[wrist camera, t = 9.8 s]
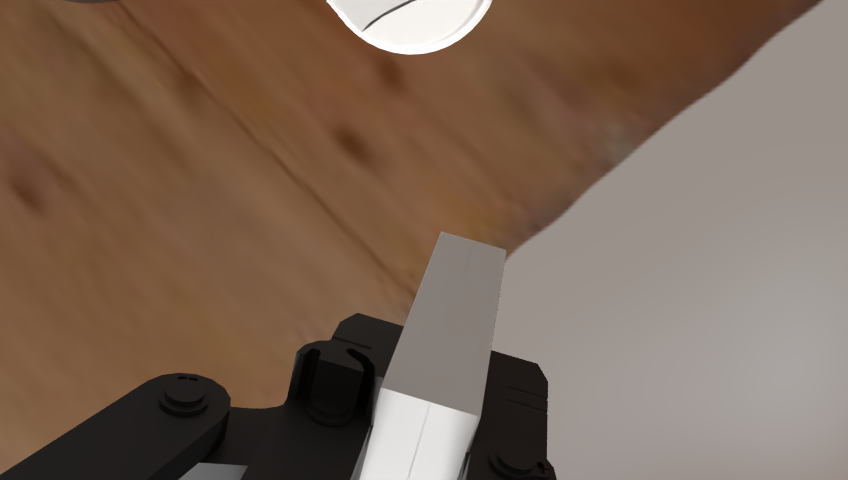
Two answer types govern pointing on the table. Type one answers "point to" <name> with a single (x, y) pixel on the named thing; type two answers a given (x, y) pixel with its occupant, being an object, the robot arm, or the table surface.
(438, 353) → the robot arm
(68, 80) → the table surface
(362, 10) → the coffee cup
